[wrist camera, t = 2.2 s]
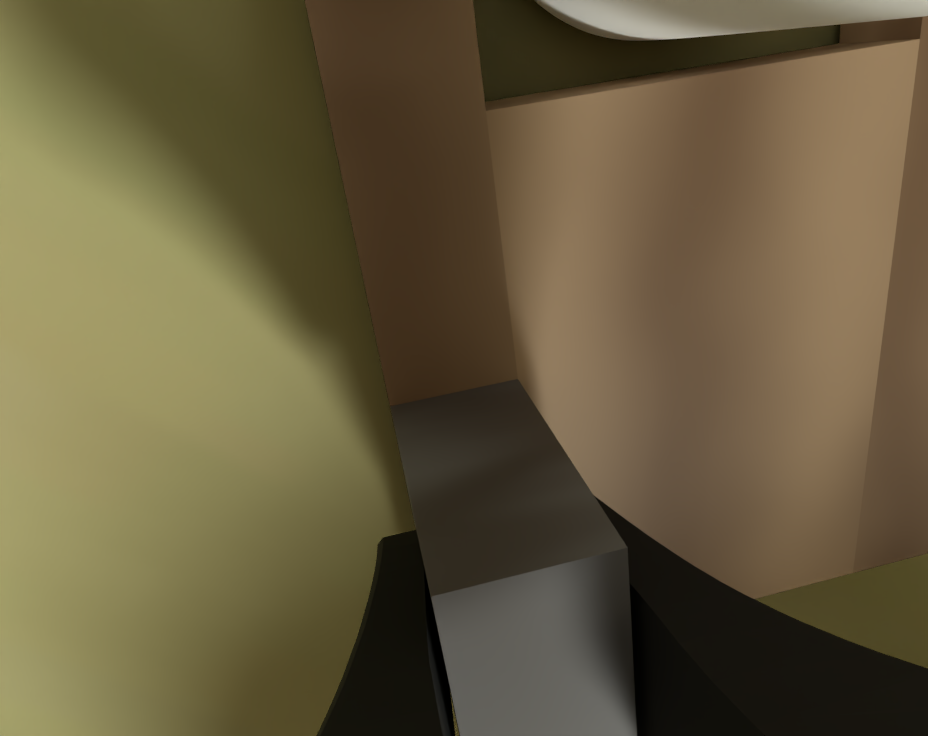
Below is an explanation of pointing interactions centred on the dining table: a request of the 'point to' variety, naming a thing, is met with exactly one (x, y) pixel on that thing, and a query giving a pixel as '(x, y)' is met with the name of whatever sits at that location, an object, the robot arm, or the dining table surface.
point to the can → (719, 15)
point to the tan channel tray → (634, 332)
